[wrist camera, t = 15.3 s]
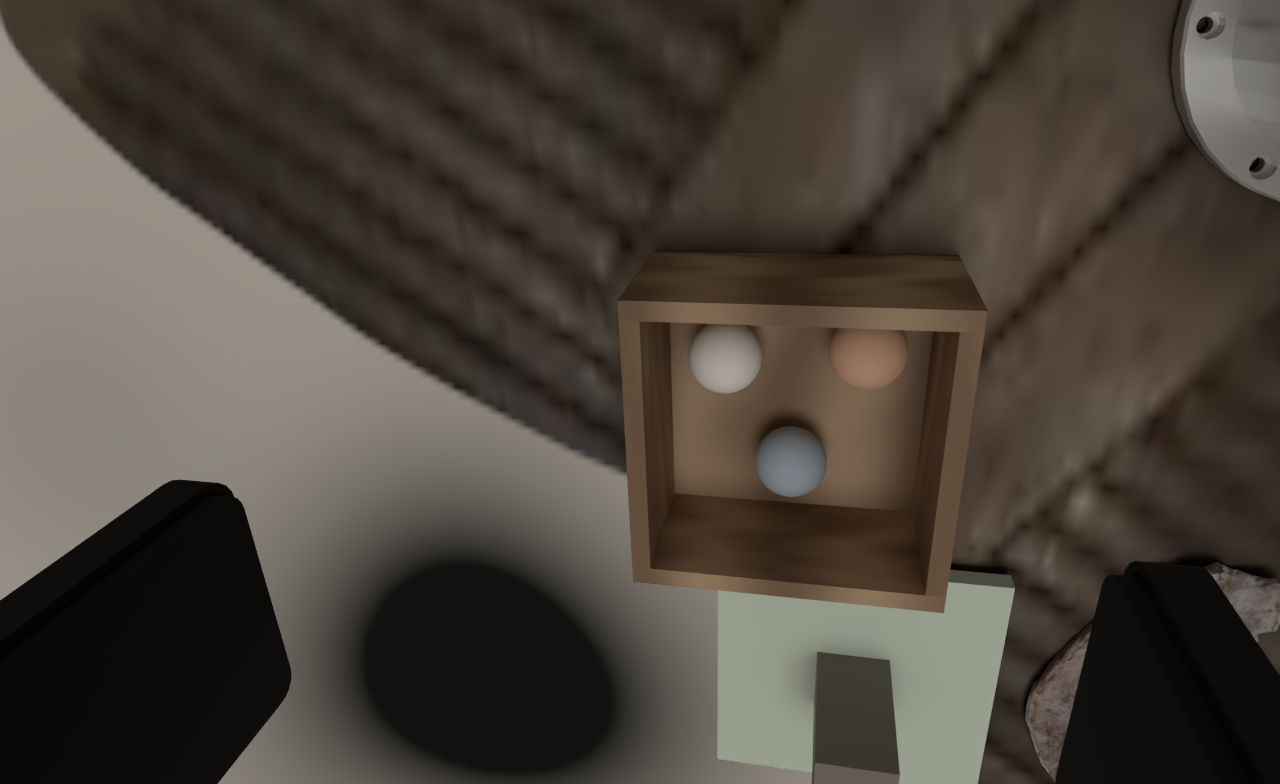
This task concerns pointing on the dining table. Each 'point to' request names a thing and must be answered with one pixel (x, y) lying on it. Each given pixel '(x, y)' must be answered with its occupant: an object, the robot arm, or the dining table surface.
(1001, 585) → the lid
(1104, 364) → the dining table surface
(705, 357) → the ball cream
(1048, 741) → the fossil
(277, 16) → the dining table surface
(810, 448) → the ball slate
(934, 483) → the walnut box
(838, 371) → the ball terracotta
